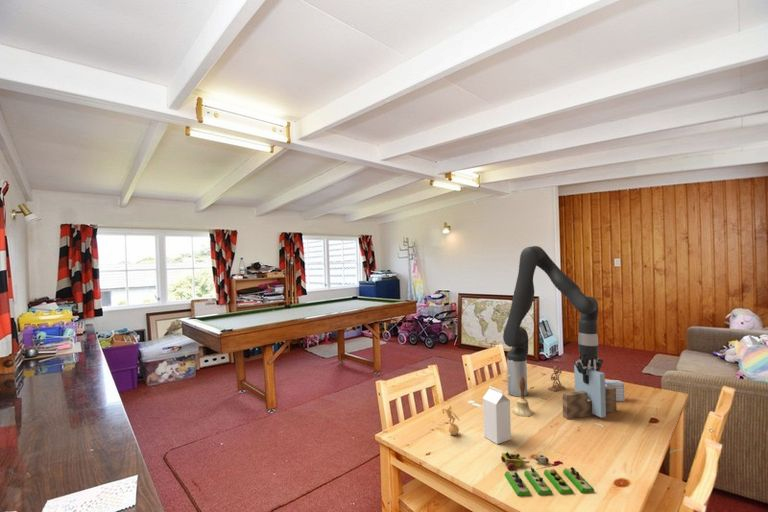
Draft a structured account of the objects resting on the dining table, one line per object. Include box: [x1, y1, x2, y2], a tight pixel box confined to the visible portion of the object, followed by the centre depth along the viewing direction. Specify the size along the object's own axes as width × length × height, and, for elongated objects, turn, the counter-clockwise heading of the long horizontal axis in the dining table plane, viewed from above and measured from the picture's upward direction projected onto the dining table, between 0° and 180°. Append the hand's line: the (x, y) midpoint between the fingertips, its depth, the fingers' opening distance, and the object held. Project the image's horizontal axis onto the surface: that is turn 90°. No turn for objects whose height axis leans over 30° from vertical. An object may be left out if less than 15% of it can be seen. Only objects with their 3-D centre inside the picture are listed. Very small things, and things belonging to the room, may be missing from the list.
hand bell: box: [512, 376, 534, 417], centre depth 163 cm, size 8×8×16 cm
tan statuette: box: [547, 365, 566, 393], centre depth 190 cm, size 9×4×12 cm, turn 120°
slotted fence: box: [562, 386, 617, 420], centre depth 160 cm, size 26×2×10 cm, turn 105°
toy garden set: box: [500, 451, 595, 497], centre depth 117 cm, size 23×19×5 cm
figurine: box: [441, 404, 460, 436], centre depth 145 cm, size 8×6×12 cm
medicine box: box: [605, 379, 625, 402], centre depth 175 cm, size 8×4×9 cm, turn 84°
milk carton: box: [482, 385, 512, 445], centre depth 141 cm, size 7×7×19 cm
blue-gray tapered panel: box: [573, 364, 607, 418], centre depth 160 cm, size 14×2×18 cm, turn 15°
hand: (589, 382), depth 160 cm, fingers closed on blue-gray tapered panel, 2 cm apart
